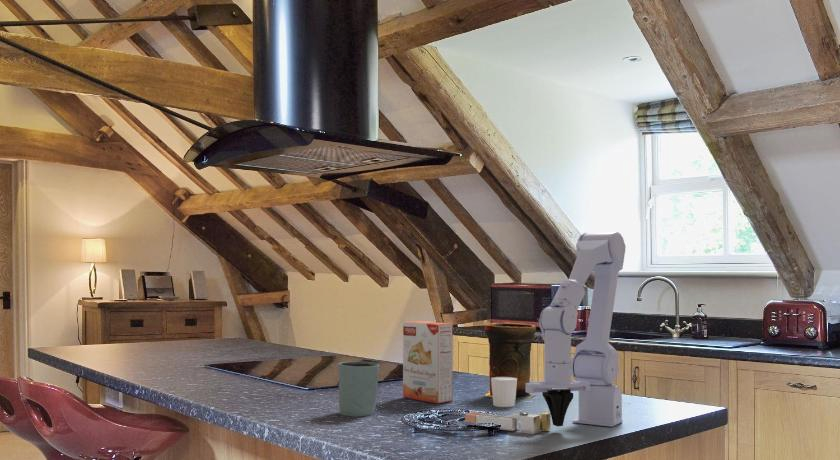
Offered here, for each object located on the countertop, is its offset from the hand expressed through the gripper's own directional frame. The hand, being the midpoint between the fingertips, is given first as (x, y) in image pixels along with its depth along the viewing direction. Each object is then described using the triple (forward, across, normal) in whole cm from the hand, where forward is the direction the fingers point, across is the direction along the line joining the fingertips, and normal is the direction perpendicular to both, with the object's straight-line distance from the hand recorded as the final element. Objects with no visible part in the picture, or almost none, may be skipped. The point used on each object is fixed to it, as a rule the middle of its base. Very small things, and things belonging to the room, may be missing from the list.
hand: (557, 425), depth 173 cm
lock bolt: (+1, +3, -3) cm, 5 cm away
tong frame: (+1, +10, -7) cm, 12 cm away
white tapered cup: (+2, -3, -36) cm, 36 cm away
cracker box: (+2, +13, -49) cm, 51 cm away
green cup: (+2, +36, -34) cm, 50 cm away
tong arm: (+1, +11, -9) cm, 14 cm away
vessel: (+2, -12, -51) cm, 52 cm away
